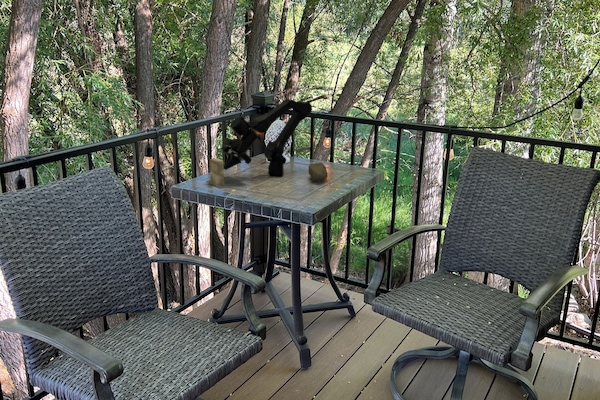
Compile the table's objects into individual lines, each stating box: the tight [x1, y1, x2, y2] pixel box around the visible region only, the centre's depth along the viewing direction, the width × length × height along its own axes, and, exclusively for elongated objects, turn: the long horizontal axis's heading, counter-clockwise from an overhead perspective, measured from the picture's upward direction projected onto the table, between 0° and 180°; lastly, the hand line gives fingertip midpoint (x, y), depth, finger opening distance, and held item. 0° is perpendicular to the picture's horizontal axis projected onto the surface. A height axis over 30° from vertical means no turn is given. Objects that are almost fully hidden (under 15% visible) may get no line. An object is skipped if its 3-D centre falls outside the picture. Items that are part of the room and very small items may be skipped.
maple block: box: [209, 157, 225, 187], centre depth 256 cm, size 4×6×11 cm, turn 35°
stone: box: [308, 162, 328, 182], centre depth 266 cm, size 17×9×8 cm, turn 6°
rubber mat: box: [205, 176, 246, 190], centre depth 260 cm, size 13×14×1 cm
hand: (224, 169), depth 257 cm, fingers closed
